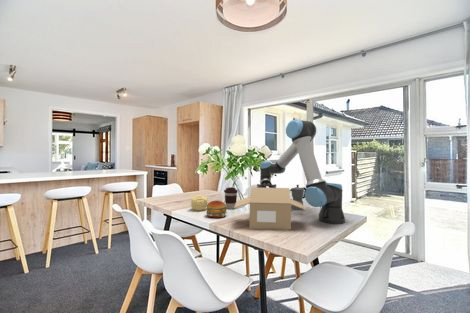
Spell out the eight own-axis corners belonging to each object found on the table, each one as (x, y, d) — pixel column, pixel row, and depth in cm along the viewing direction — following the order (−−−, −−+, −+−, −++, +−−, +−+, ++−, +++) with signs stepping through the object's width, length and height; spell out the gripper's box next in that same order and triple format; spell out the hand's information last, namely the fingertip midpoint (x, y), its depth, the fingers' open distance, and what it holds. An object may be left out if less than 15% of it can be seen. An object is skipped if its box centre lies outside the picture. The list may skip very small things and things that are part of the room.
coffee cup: (235, 210, 170) (236, 189, 170) (222, 209, 172) (222, 188, 172) (238, 207, 180) (238, 187, 180) (225, 206, 182) (225, 186, 182)
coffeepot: (295, 211, 168) (295, 186, 167) (286, 208, 176) (286, 184, 176) (310, 209, 175) (311, 184, 175) (301, 206, 183) (301, 183, 183)
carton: (298, 217, 152) (298, 195, 152) (307, 230, 125) (307, 204, 125) (237, 215, 155) (237, 193, 155) (233, 228, 128) (233, 202, 128)
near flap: (289, 188, 131) (289, 188, 130) (290, 203, 126) (290, 203, 125) (250, 187, 132) (250, 187, 132) (250, 202, 127) (250, 202, 127)
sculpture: (191, 212, 163) (191, 196, 163) (190, 208, 174) (190, 193, 174) (208, 211, 165) (208, 196, 165) (206, 207, 177) (206, 193, 177)
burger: (201, 216, 153) (201, 200, 153) (216, 212, 163) (216, 198, 163) (216, 220, 144) (216, 203, 144) (231, 215, 154) (231, 200, 154)
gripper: (275, 190, 161) (279, 196, 138) (256, 190, 162) (256, 196, 139) (275, 179, 161) (279, 183, 138) (256, 179, 162) (256, 183, 139)
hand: (267, 190), depth 138 cm, fingers closed
